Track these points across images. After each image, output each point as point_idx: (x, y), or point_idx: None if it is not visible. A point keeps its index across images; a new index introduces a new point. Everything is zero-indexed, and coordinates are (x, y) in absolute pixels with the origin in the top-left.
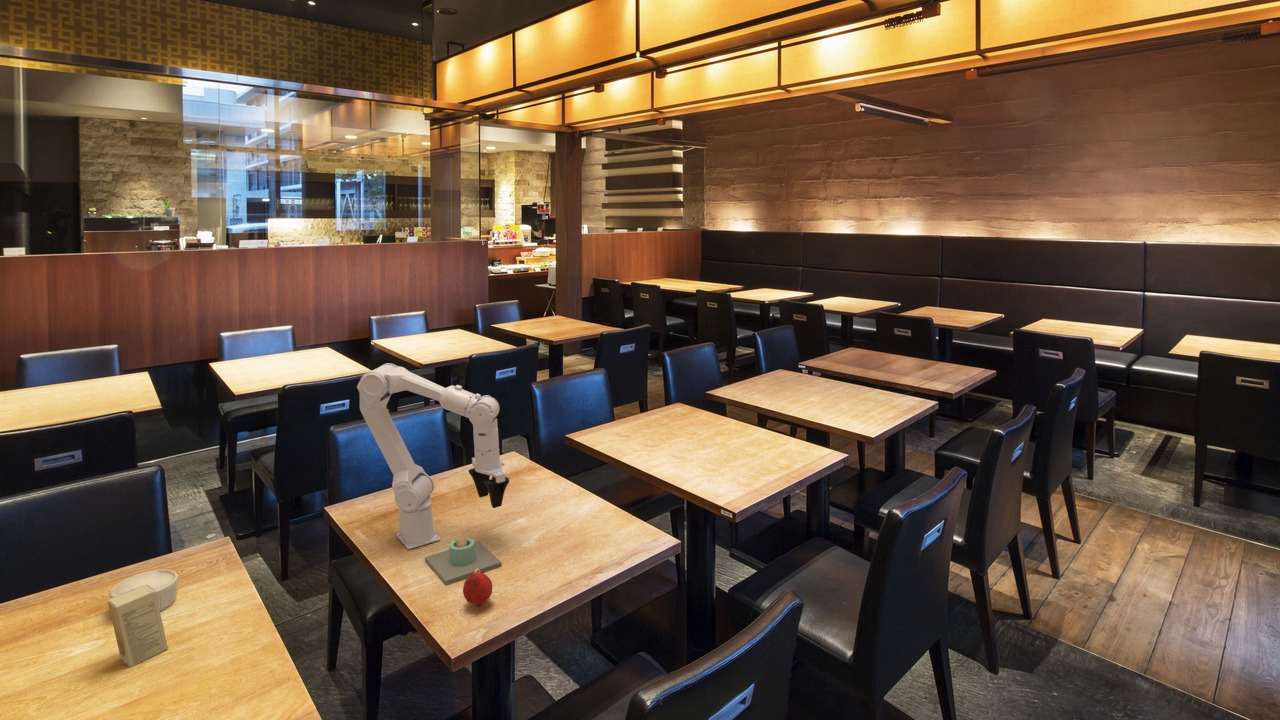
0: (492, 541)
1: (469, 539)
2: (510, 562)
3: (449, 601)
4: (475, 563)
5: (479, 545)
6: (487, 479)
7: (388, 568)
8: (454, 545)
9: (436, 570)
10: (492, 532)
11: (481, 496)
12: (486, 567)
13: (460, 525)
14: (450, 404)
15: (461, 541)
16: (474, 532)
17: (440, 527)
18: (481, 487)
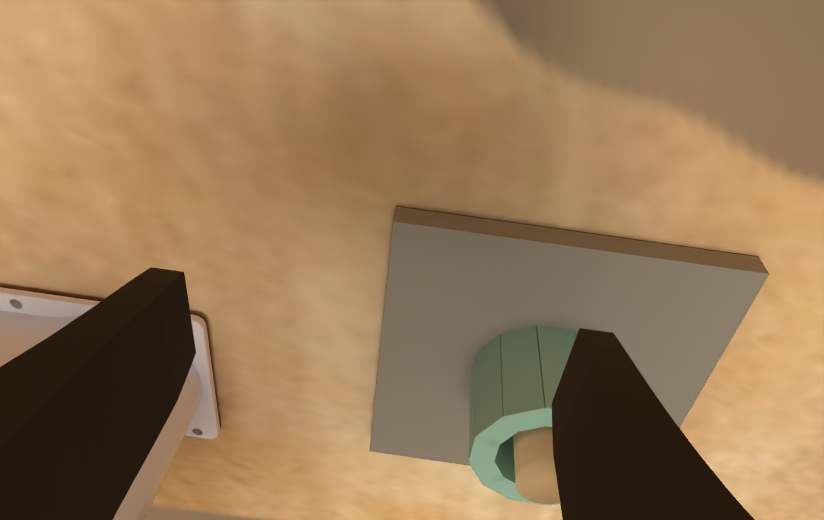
0: (427, 120)
1: (540, 419)
2: (779, 198)
3: (753, 509)
4: (632, 360)
5: (462, 248)
6: (27, 458)
7: (328, 513)
8: (502, 461)
9: None
10: (292, 39)
11: (190, 347)
12: (725, 348)
13: (50, 144)
14: None
15: None
16: (212, 134)
17: (27, 239)
18: (127, 439)
